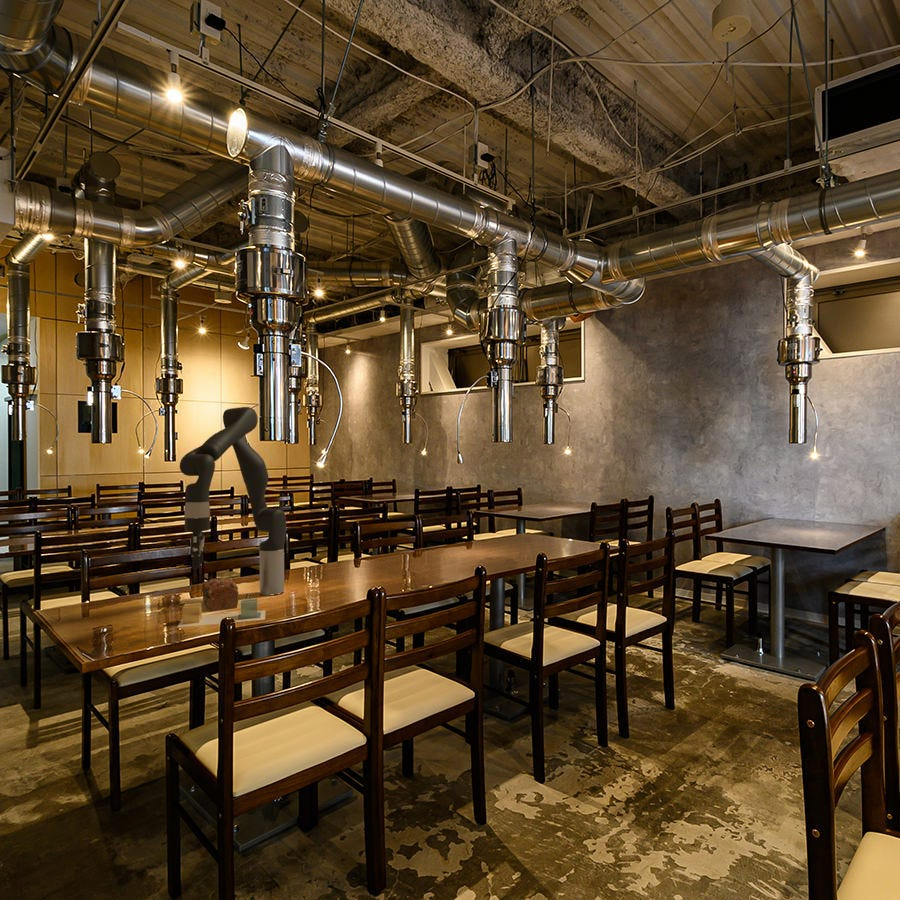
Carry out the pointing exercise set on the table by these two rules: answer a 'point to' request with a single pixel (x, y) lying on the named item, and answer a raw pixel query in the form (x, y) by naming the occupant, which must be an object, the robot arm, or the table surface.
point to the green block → (249, 608)
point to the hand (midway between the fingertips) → (197, 566)
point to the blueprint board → (216, 618)
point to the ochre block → (191, 613)
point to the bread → (220, 594)
